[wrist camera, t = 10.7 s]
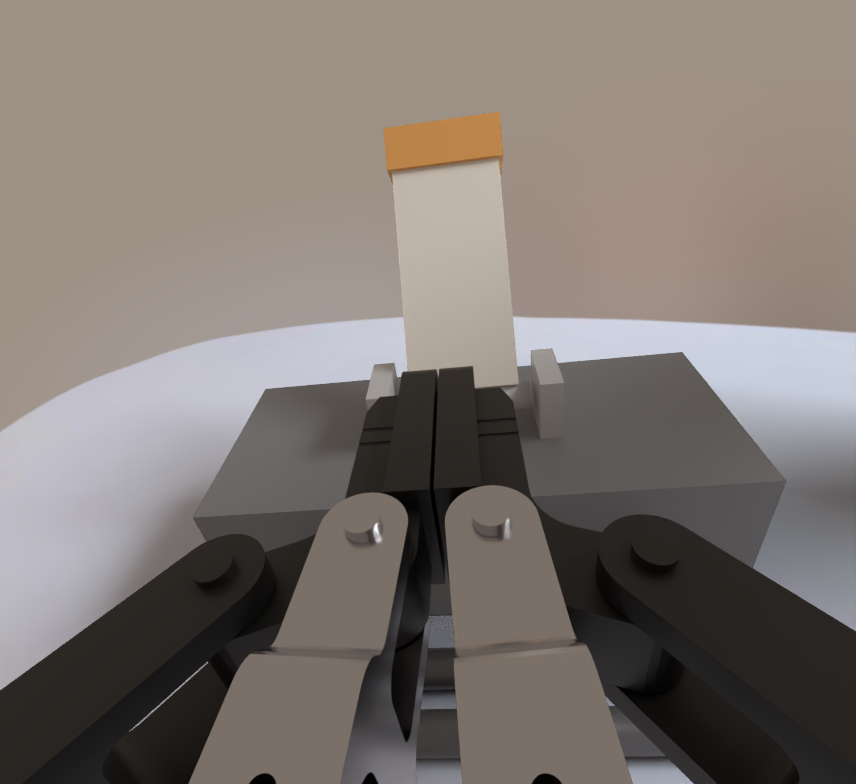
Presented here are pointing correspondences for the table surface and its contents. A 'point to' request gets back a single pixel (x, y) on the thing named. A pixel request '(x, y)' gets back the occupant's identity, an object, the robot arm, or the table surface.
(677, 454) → the block
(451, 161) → the breaker lever
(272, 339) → the table surface
